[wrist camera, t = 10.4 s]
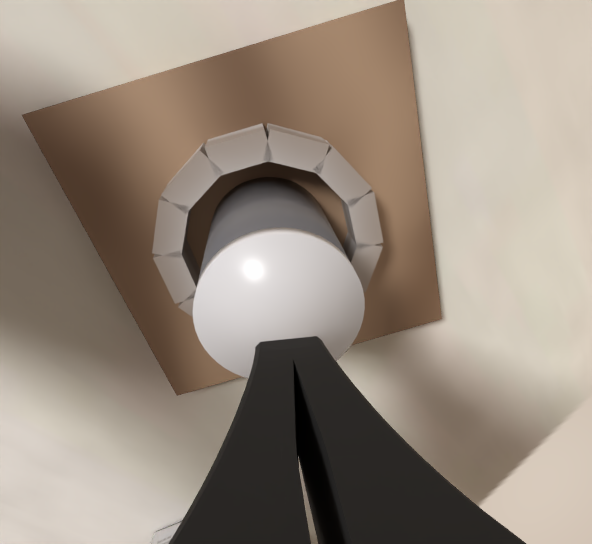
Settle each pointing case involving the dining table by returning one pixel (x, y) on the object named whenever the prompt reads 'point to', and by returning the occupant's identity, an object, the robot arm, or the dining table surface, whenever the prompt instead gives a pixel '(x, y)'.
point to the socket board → (253, 171)
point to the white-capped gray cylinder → (273, 275)
